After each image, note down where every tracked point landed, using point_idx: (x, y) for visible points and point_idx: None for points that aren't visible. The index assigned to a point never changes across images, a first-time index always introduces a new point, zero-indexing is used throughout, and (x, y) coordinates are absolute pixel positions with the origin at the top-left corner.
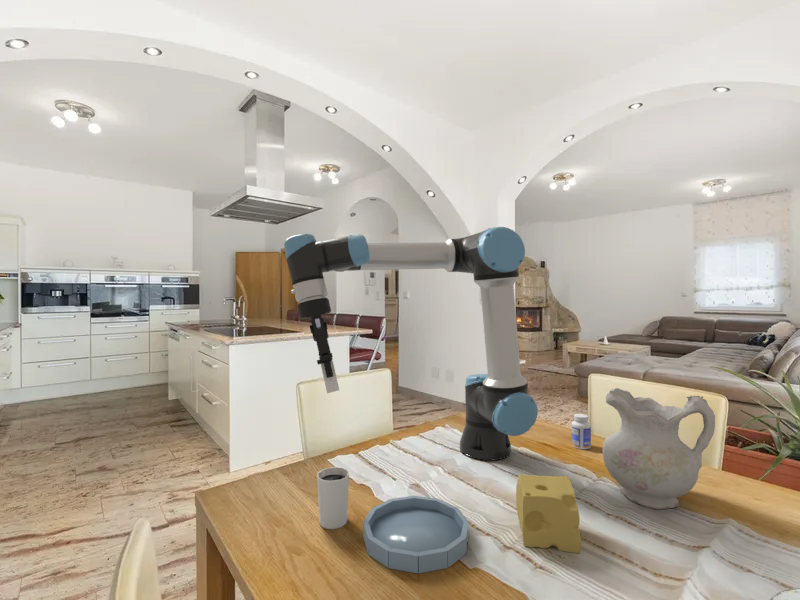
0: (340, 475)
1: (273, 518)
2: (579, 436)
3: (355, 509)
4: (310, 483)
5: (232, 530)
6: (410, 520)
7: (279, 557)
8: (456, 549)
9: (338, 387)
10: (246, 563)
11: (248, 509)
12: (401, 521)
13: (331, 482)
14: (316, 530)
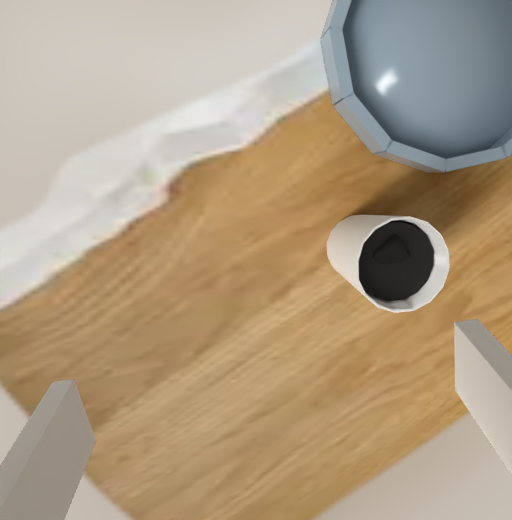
0: (363, 244)
1: (335, 385)
2: None
3: (310, 198)
4: (162, 337)
5: (374, 455)
6: (396, 54)
7: None
8: None
9: (485, 330)
10: None
11: (292, 453)
12: (399, 78)
13: (446, 263)
14: None
